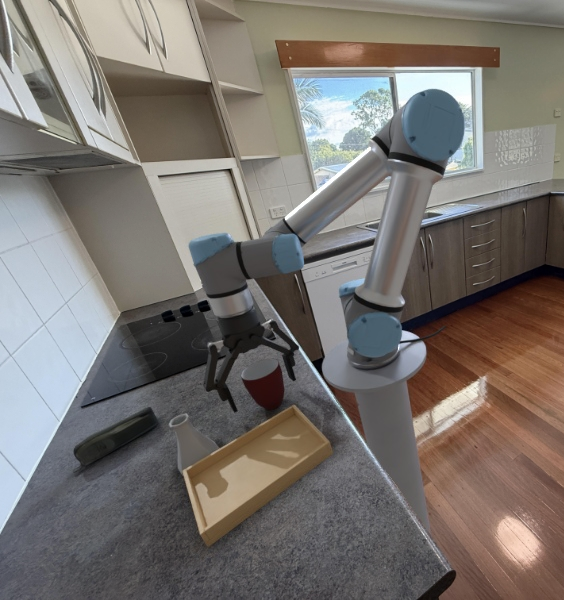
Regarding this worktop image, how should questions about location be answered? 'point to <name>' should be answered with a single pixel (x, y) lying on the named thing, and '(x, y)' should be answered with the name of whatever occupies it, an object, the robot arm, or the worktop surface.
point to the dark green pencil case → (114, 437)
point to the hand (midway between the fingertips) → (265, 393)
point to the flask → (190, 442)
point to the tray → (252, 471)
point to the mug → (264, 383)
